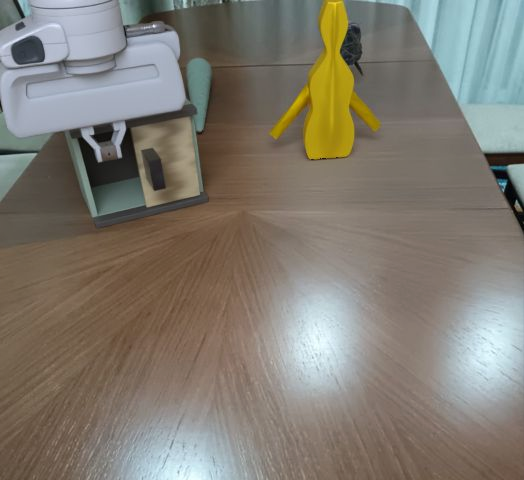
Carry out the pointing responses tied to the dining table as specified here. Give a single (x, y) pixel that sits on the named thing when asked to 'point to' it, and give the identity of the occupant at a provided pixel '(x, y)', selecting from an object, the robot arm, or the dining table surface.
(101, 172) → the closet
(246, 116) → the dining table surface
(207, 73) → the mint green cone
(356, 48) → the dark grey lumpy shape
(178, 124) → the closet door
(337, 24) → the figure statuette
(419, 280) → the dining table surface
